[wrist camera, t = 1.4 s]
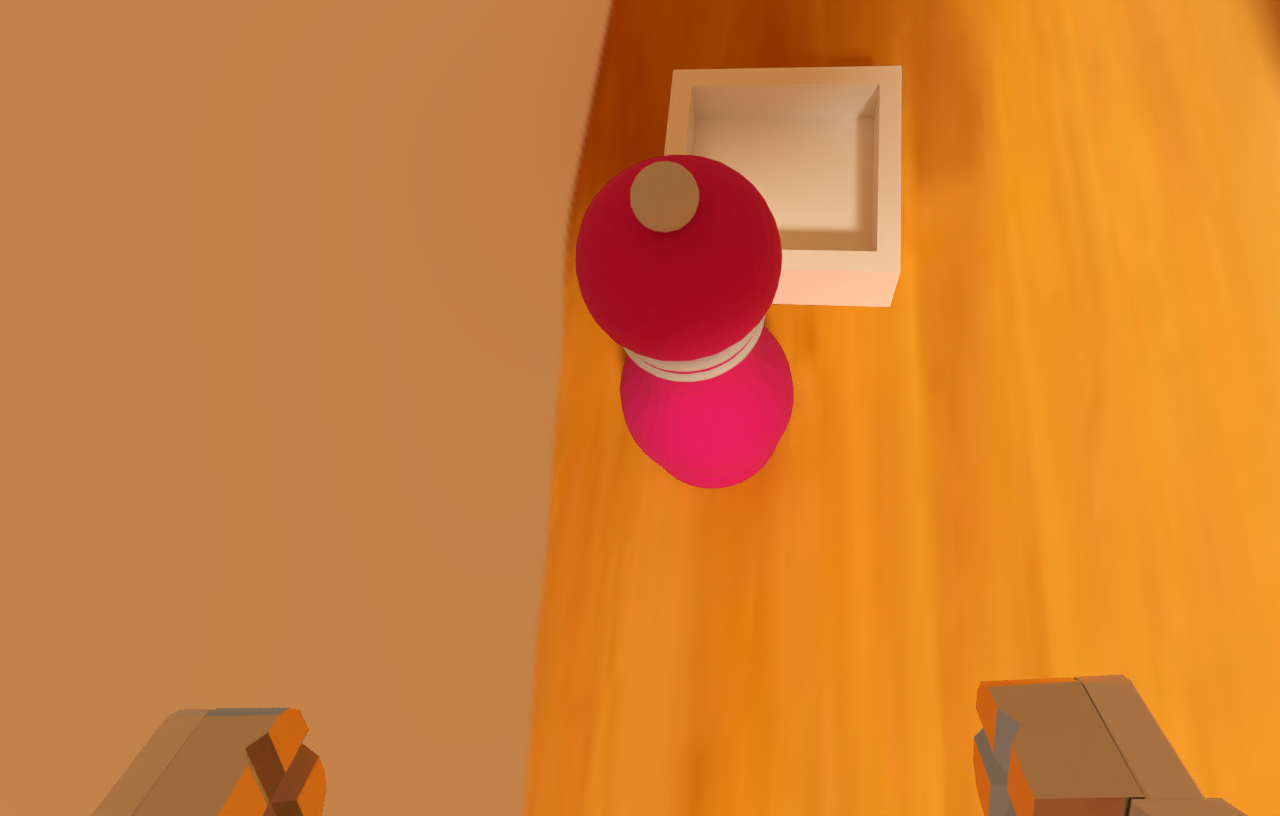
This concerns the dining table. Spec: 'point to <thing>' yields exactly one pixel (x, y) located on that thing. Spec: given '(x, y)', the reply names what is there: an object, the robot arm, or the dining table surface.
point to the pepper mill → (690, 314)
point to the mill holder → (808, 167)
